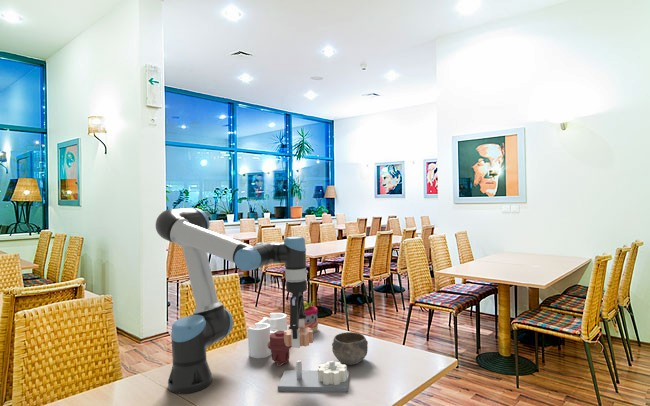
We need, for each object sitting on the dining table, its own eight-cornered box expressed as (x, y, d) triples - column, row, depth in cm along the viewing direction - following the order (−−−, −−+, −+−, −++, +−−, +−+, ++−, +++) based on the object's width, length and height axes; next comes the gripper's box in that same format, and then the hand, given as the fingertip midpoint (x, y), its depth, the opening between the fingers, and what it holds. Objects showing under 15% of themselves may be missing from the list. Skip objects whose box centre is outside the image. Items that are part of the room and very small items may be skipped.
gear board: (277, 390, 139) (277, 368, 139) (285, 374, 152) (284, 354, 152) (347, 392, 136) (346, 369, 136) (349, 375, 149) (348, 355, 149)
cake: (294, 332, 199) (293, 302, 198) (302, 326, 209) (301, 297, 208) (314, 334, 195) (313, 303, 195) (321, 327, 205) (320, 298, 205)
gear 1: (281, 347, 140) (281, 336, 140) (287, 337, 150) (287, 326, 150) (310, 347, 139) (310, 335, 139) (314, 337, 149) (314, 326, 149)
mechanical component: (296, 358, 167) (289, 368, 157) (273, 357, 169) (264, 367, 159) (295, 328, 166) (288, 336, 157) (272, 327, 168) (263, 335, 159)
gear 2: (322, 387, 137) (322, 375, 137) (315, 374, 147) (314, 363, 147) (351, 382, 140) (350, 371, 140) (341, 370, 150) (341, 359, 150)
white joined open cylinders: (266, 359, 166) (265, 330, 166) (245, 357, 170) (244, 328, 169) (291, 339, 190) (290, 313, 190) (272, 337, 193) (271, 312, 193)
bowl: (329, 368, 156) (328, 342, 156) (337, 353, 171) (336, 329, 171) (365, 370, 152) (364, 344, 152) (370, 355, 167) (369, 331, 167)
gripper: (301, 286, 132) (303, 354, 133) (311, 273, 155) (313, 331, 155) (279, 287, 133) (281, 353, 133) (292, 274, 156) (294, 331, 156)
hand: (298, 341), depth 144 cm, fingers closed on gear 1, 10 cm apart
